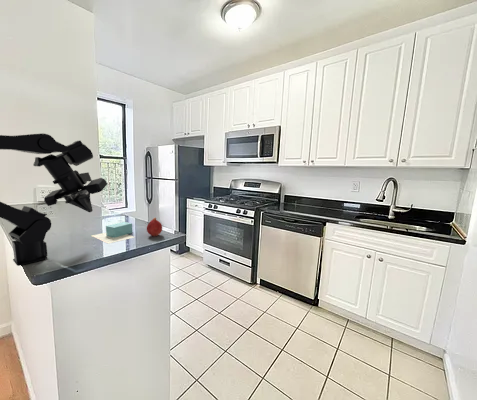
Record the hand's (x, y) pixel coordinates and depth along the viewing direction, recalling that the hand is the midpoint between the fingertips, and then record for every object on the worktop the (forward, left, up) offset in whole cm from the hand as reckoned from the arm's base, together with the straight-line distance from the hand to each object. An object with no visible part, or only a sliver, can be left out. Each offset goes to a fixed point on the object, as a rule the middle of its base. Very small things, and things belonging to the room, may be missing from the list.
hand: (91, 211), depth 79 cm
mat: (+8, +2, -12) cm, 14 cm away
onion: (+19, -10, -12) cm, 24 cm away
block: (+7, +2, -9) cm, 12 cm away
